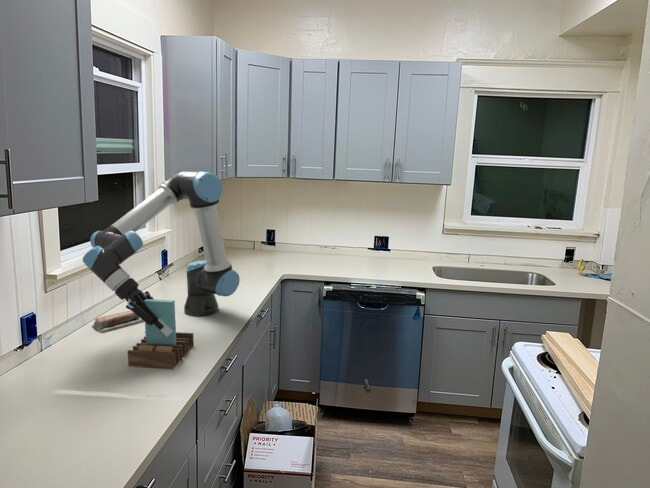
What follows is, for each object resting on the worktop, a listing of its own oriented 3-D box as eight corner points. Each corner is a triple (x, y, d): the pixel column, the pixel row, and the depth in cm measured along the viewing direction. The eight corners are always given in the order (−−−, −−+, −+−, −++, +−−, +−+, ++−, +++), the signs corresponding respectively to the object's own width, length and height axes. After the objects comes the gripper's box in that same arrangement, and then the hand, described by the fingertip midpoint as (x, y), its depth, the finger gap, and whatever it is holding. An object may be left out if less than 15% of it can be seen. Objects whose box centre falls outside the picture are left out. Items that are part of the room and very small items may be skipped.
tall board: (149, 353, 168) (146, 299, 164) (176, 354, 167) (174, 300, 163) (146, 355, 166) (143, 300, 162) (174, 357, 165) (172, 302, 161)
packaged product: (101, 322, 187) (90, 316, 194) (102, 334, 188) (91, 327, 195) (144, 311, 201) (133, 306, 207) (145, 322, 202) (133, 317, 208)
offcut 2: (158, 362, 161) (157, 345, 160) (172, 363, 161) (172, 346, 160) (155, 364, 159) (155, 348, 158) (170, 365, 159) (169, 348, 158)
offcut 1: (141, 361, 162) (140, 344, 161) (155, 362, 162) (154, 345, 160) (138, 363, 160) (137, 347, 159) (153, 364, 160) (152, 348, 158)
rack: (151, 346, 177) (151, 331, 176) (193, 348, 176) (193, 333, 174) (126, 369, 158) (125, 352, 157) (173, 372, 157) (172, 355, 156)
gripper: (126, 285, 171) (173, 331, 173) (103, 298, 156) (155, 348, 158) (139, 271, 169) (186, 318, 171) (118, 283, 154) (170, 334, 157)
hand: (171, 332), depth 165 cm, fingers closed on tall board, 2 cm apart
